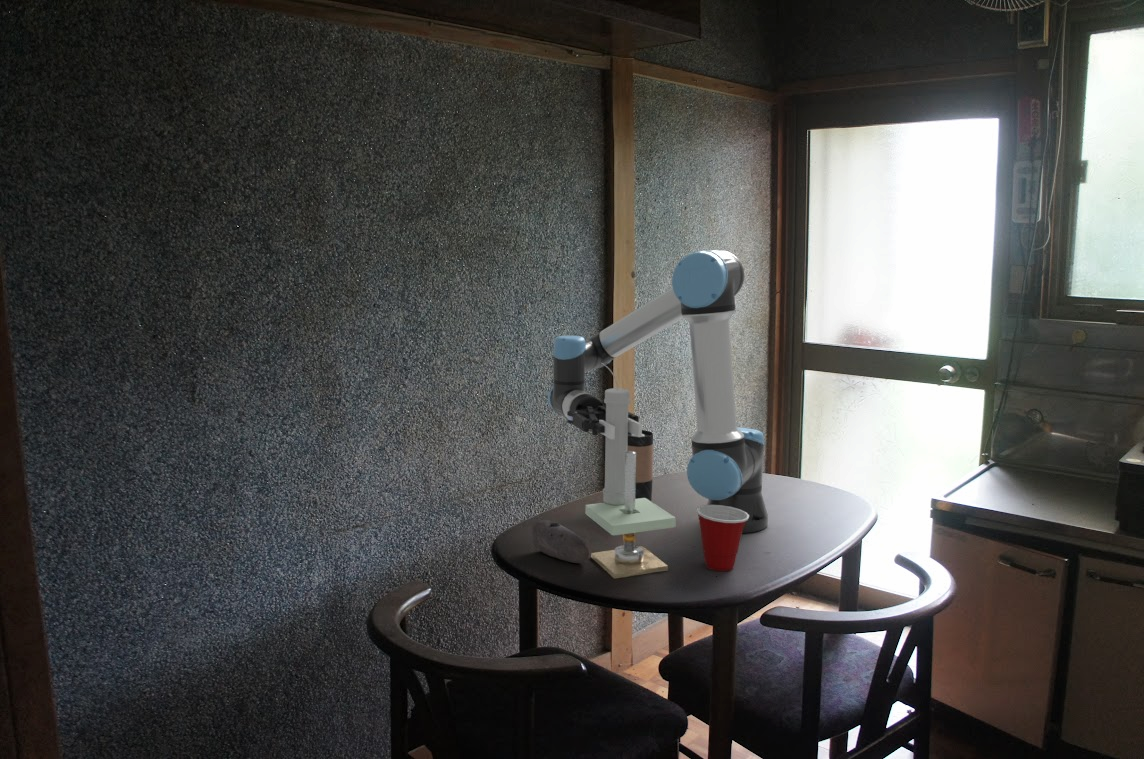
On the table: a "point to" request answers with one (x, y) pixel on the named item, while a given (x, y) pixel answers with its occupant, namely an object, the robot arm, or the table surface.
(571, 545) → the perforated stone tool
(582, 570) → the table surface
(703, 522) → the plastic cup
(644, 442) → the travel mug
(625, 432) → the pipe
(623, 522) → the pale mint square tile
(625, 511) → the post stand
